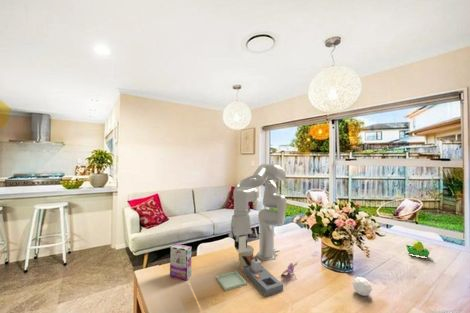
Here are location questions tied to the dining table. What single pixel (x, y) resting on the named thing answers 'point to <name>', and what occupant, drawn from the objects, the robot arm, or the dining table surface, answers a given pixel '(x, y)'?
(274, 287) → the power strip
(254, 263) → the grey twin plug
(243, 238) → the cream plug
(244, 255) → the coffee cup
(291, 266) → the lily
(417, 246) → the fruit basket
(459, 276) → the dining table surface
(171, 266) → the candy bar box
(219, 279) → the sage tray
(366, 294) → the geometric ball
